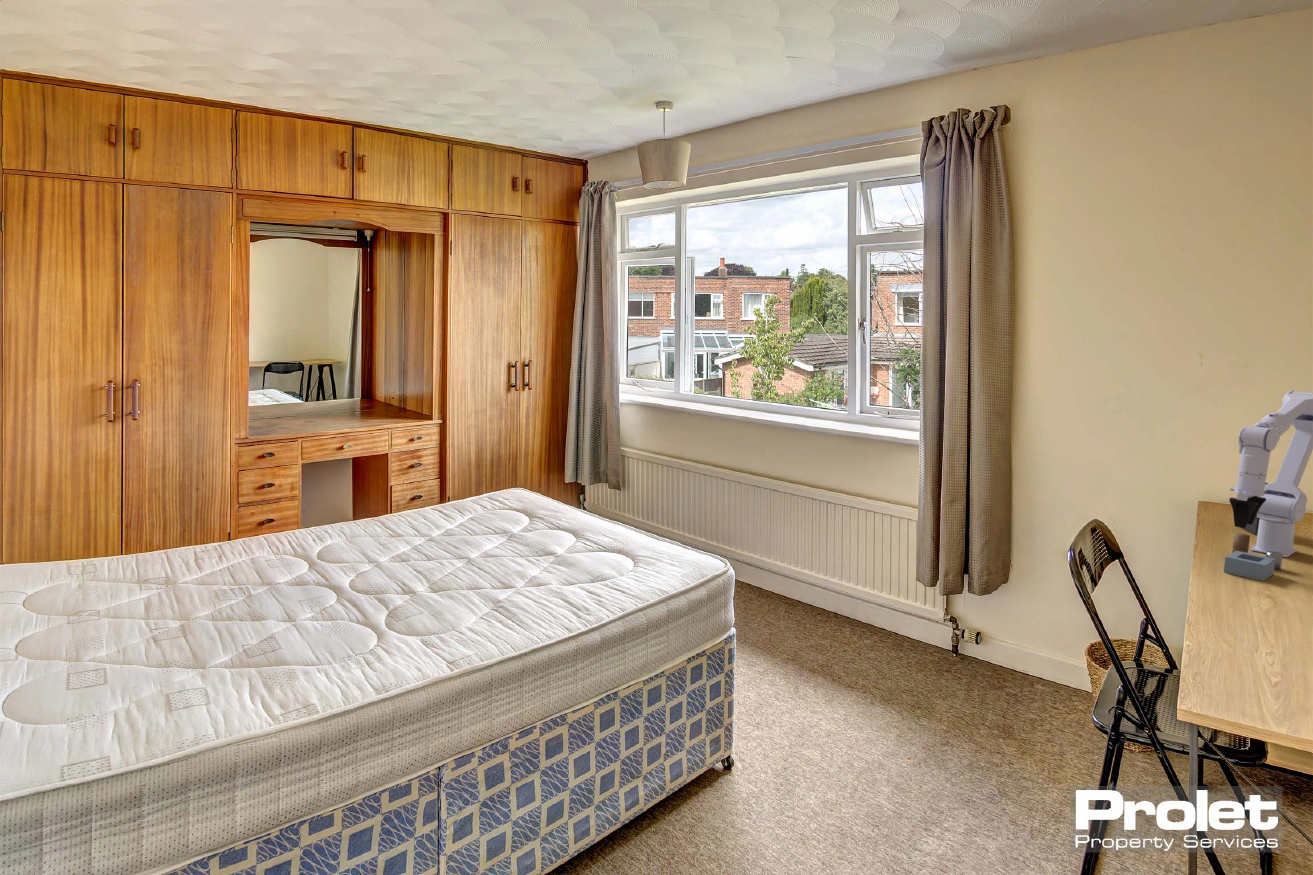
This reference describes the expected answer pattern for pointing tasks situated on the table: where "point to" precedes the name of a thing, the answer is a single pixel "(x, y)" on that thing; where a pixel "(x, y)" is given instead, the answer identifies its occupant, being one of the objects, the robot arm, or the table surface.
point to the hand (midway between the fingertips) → (1243, 525)
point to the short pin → (1277, 557)
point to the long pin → (1241, 542)
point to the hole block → (1249, 565)
